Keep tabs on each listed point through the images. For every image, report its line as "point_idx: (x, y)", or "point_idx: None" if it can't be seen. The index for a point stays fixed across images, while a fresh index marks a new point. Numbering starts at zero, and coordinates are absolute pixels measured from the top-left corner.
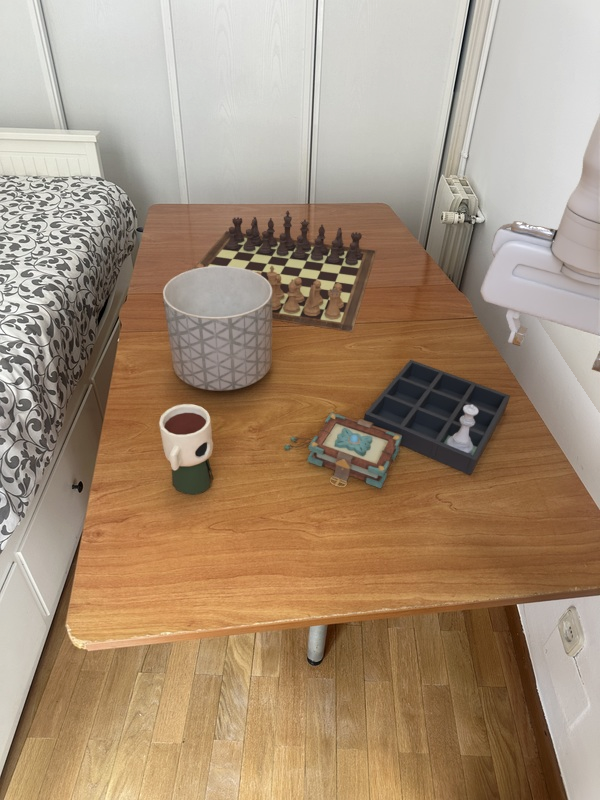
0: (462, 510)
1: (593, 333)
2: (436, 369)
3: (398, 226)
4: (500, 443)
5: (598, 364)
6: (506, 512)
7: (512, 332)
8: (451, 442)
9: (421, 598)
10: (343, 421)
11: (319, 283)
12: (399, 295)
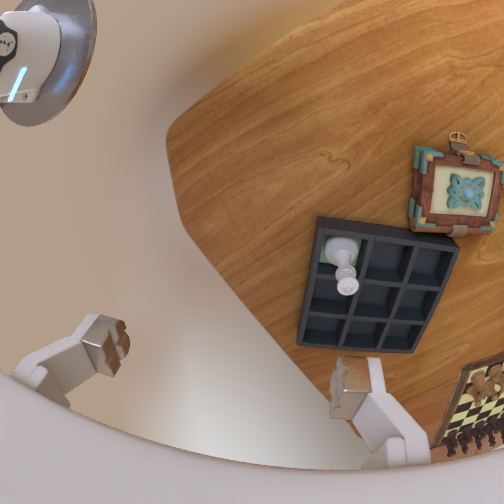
0: (314, 155)
1: (82, 418)
2: (383, 351)
3: None
4: (293, 281)
5: (101, 331)
6: (264, 177)
7: (381, 388)
8: (353, 247)
9: (320, 19)
10: (481, 222)
11: (494, 398)
12: None
